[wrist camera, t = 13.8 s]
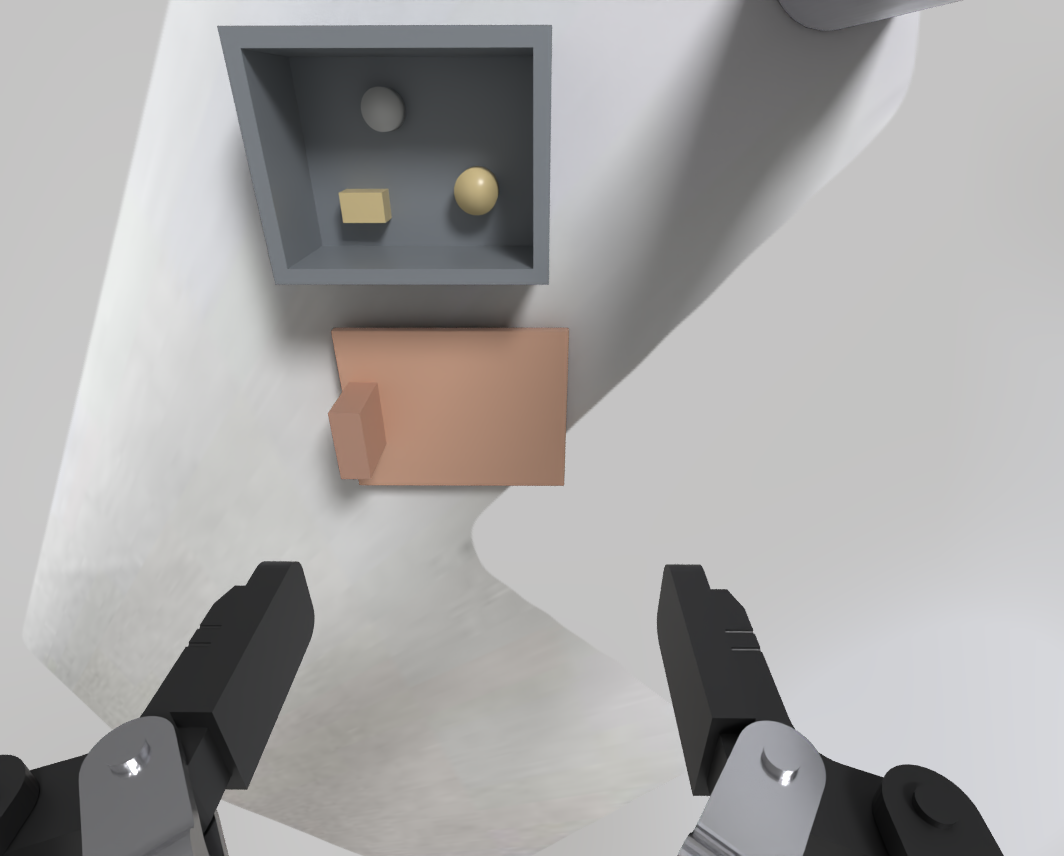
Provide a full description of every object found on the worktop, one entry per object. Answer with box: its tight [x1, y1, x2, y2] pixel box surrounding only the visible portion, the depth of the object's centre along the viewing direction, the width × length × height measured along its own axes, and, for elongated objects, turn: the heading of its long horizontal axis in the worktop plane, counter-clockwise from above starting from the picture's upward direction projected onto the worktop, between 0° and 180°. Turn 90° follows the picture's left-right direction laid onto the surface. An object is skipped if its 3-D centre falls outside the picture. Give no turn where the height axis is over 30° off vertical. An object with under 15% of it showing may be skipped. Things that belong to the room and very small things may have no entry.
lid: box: [328, 328, 569, 486], centre depth 48 cm, size 19×15×8 cm
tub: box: [217, 25, 552, 285], centre depth 38 cm, size 18×14×8 cm
